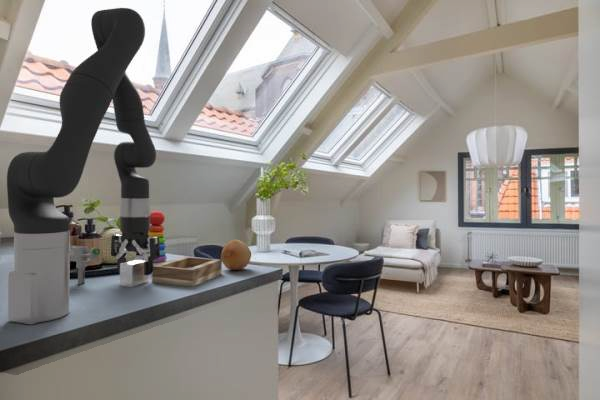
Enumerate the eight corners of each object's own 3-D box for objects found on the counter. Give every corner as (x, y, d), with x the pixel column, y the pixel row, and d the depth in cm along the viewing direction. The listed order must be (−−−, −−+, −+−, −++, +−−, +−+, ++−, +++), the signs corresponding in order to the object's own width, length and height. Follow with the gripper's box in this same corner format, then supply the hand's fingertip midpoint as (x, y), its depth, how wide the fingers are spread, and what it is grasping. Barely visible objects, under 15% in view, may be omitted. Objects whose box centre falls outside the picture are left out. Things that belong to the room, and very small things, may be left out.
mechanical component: (93, 286, 96) (93, 248, 96) (60, 283, 98) (60, 246, 98) (101, 283, 99) (101, 247, 99) (69, 280, 101) (69, 245, 101)
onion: (251, 273, 116) (251, 241, 115) (219, 273, 114) (220, 241, 114) (250, 266, 125) (251, 237, 125) (221, 266, 124) (222, 237, 123)
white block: (132, 287, 96) (132, 264, 96) (119, 285, 97) (120, 263, 97) (147, 281, 102) (147, 260, 102) (135, 280, 103) (136, 259, 103)
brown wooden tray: (192, 286, 98) (192, 270, 98) (152, 282, 102) (152, 266, 102) (221, 273, 113) (221, 259, 113) (185, 270, 117) (185, 256, 117)
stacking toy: (161, 269, 117) (162, 212, 117) (137, 269, 118) (138, 211, 117) (170, 264, 125) (171, 210, 125) (147, 264, 125) (148, 210, 125)
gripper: (103, 214, 98) (103, 274, 98) (147, 216, 94) (147, 278, 94) (124, 212, 105) (124, 268, 106) (166, 214, 101) (165, 272, 102)
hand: (135, 273), depth 100 cm, fingers open, 8 cm apart
